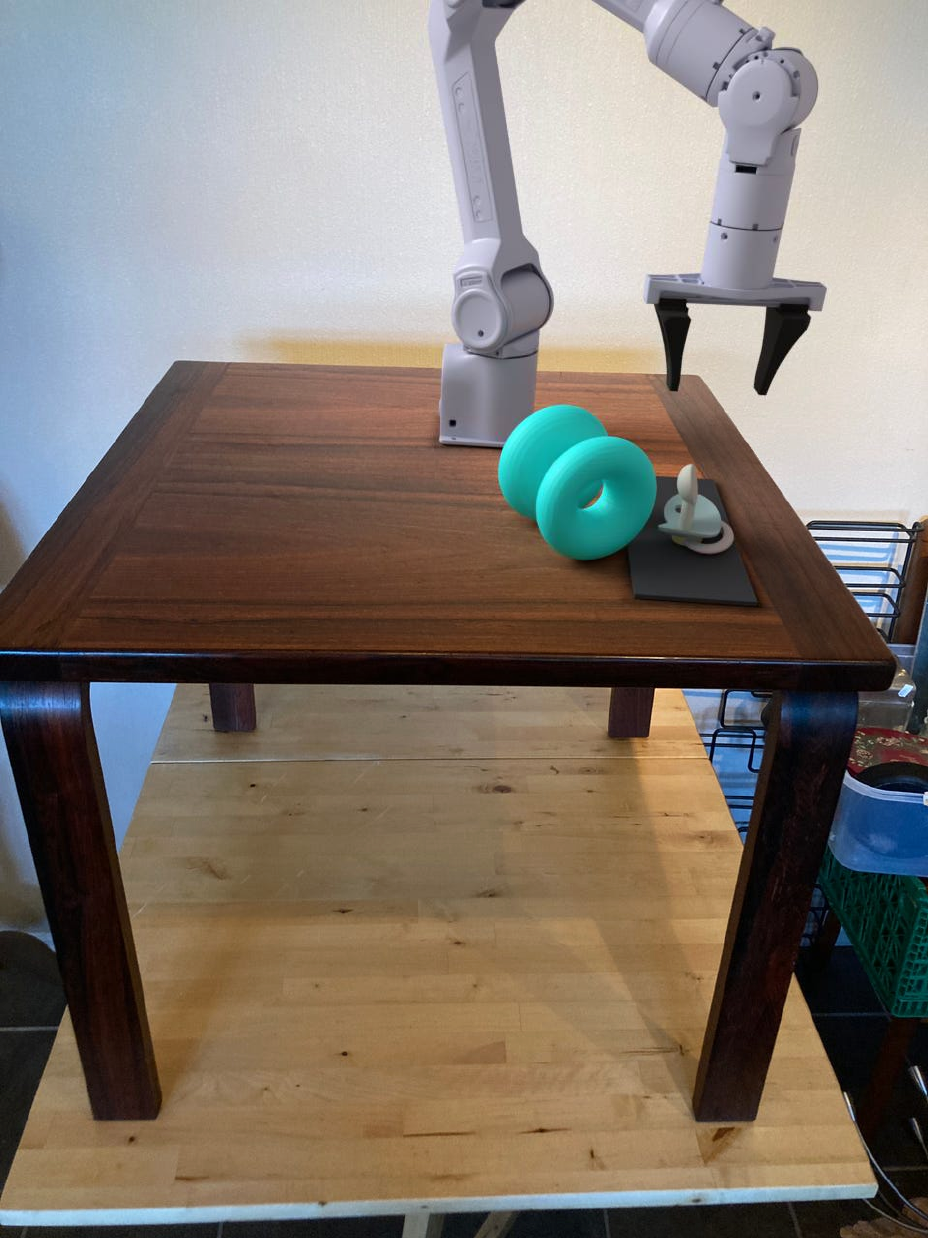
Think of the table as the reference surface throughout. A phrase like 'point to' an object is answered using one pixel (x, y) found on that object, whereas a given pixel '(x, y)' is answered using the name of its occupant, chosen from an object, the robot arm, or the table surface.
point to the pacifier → (694, 517)
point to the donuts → (577, 482)
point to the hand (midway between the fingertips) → (715, 389)
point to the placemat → (686, 559)
